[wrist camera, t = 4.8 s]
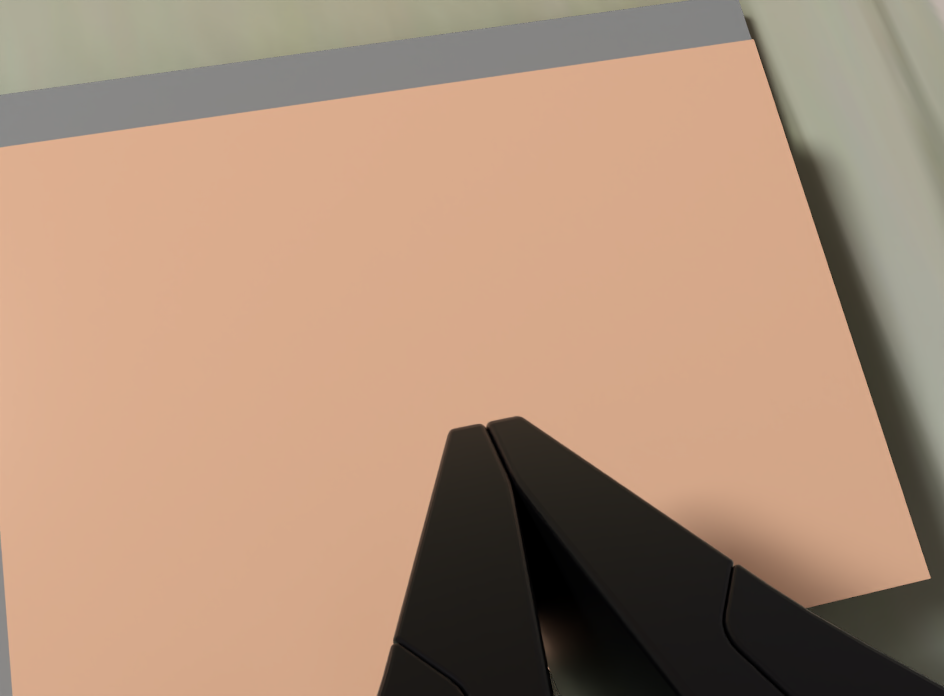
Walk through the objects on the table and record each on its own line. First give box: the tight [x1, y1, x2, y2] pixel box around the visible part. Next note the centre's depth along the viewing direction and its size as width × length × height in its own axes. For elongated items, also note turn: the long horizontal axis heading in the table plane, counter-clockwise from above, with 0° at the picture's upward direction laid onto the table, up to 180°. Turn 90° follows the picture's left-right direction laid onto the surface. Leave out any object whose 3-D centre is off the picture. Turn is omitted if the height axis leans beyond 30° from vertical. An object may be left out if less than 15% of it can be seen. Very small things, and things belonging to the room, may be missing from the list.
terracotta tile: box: [0, 39, 931, 696], centre depth 15 cm, size 2×14×10 cm
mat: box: [0, 0, 752, 696], centre depth 16 cm, size 12×18×1 cm, turn 102°
